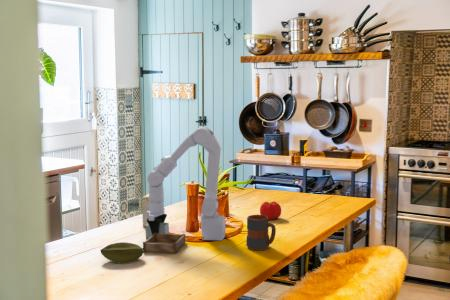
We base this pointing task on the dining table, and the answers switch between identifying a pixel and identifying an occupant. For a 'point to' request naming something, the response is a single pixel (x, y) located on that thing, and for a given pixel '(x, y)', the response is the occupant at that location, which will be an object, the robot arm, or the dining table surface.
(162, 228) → the grey crate
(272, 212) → the tomato
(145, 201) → the supplement box
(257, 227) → the mug
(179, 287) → the dining table surface
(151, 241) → the walnut crate
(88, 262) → the dining table surface
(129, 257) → the fruit
